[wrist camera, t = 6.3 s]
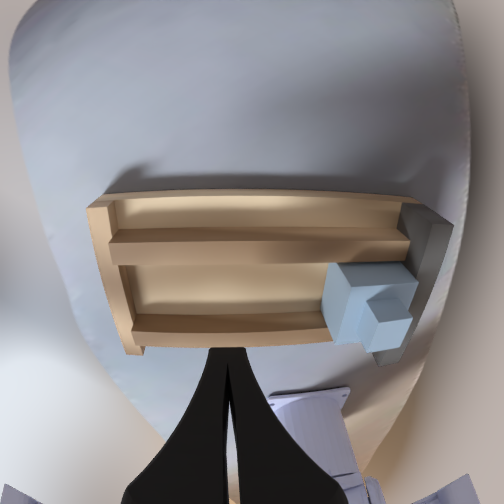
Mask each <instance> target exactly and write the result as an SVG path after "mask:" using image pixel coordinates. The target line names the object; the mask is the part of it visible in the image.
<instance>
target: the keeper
mask: <svg viewBox="0 0 504 504" xmlns="http://www.w3.org/2000/svg"><path fill="white" fill-rule="evenodd" d="M418 283H419V282H418V281H417V280H416V279H415V277H414V276H413V275H412V274H411V273H410V272H409V271H408V270H407V269H406V267H405V266H404V265H403V264H402V263H401V262H400V261H376V262H339V263H329V264H328V270H327V275H326V280H325V285H324V290H323V295H322V300H321V305H320V310H321V312H322V314H323V317H324V319H325V322H326V324H327V327H328V329H329V332H330V334H331V337H332V339H333V342H334V344H335V345H341V344H349V343H357V342H362V345H363V347H364V349H365V351H366V353H370V352H376V351H382V350H388V349H393V348H398V347H400V345H401V343H402V341H403V339H404V337H405V335H406V333H407V331H408V328H409V326H410V324H411V322H412V320H413V317H412V315H411V314H410V313H409V311H408V309H409V307H410V304H411V302H412V299H413V296H414V294H415V291H416V288H417V286H418Z"/></svg>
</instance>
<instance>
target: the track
mask: <svg viewBox="0 0 504 504" xmlns="http://www.w3.org/2000/svg"><path fill="white" fill-rule="evenodd" d="M86 212H87V218H88V223H89V228H90V233H91V238H92V242H93V247H94V251H95V255H96V259H97V264H98V267H99V271H100V275H101V279H102V282H103V286H104V290H105V293H106V296H107V300H108V303H109V306H110V309H111V312H112V316H113V319H114V322H115V325H116V327H117V330H118V333H119V336H120V339H121V342H122V344H123V347H124V350H125V352H126V354H128V355H142V356H143V354H144V350H145V346H154V347H184V348H211V347H262V346H281V345H295V344H308V343H319V342H329V341H333V339H332V337H331V334H330V332H329V329H328V327H327V324H326V322H325V319H324V317H323V314H322V312H321V310H320V305H321V300H322V295H323V290H324V285H325V280H326V275H327V270H328V264H329V263H339V262H376V261H400V262H401V263H402V264H403V265H404V266H405V267H406V269H407V270H408V271H409V272H410V273H411V274H412V275H413V276H414V277H415V279H416V280H417V281H418V282H419V283H418V286H417V288H416V291H415V294H414V296H413V299H412V302H411V304H410V307H409V309H408V311H409V313H410V314H411V315H412V317H413V320H412V322H411V324H410V326H409V328H408V331H407V333H406V335H405V337H404V339H403V341H402V343H401V345H400V347H398V348H393V349H388V350H382V351H376V352H372V354H373V356H374V358H375V360H376V362H377V364H378V366H379V367H380V366H385V365H390V364H394V363H398V362H399V360H400V358H401V357H402V355H403V353H404V351H405V349H406V347H407V345H408V343H409V341H410V339H411V337H412V335H413V333H414V331H415V329H416V326H417V324H418V322H419V320H420V318H421V315H422V313H423V311H424V309H425V306H426V304H427V302H428V299H429V297H430V294H431V292H432V289H433V287H434V284H435V281H436V279H437V276H438V273H439V271H440V268H441V265H442V262H443V259H444V256H445V253H446V250H447V247H448V244H449V240H450V237H451V234H452V230H453V227H454V225H453V224H452V223H450V222H449V221H447V220H446V219H444V218H443V217H441V216H440V215H439V214H437V213H436V212H434V211H433V210H431V209H429V208H428V207H426V206H425V205H423V204H422V203H420V202H419V201H417V200H415V199H414V198H412V197H402V196H392V195H380V194H367V193H352V192H336V191H315V190H286V189H194V190H165V191H145V192H128V193H114V194H102V195H101V196H100V197H99V198H98V199H96V200H95V201H94V202H93V203H92V204H90V205H89V206H88V207H87V208H86Z"/></svg>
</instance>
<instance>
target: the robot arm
mask: <svg viewBox="0 0 504 504" xmlns="http://www.w3.org/2000/svg"><path fill="white" fill-rule="evenodd" d="M350 391H351V390H350V388H349V387H343V388H337V389H330V390H323V391H316V392H308V393H299V394H289V395H278V396H270V397H268V398H267V400H266V398H265V396H264V394H263V392H262V390H261V388H260V386H259V384H258V382H257V380H256V378H255V376H254V373H253V371H252V368H251V366H250V363H249V360H248V357H247V353H246V349H245V348H244V347H211V348H210V349H209V353H208V357H207V361H206V365H205V368H204V371H203V373H202V376H201V379H200V381H199V384H198V386H197V388H196V391H195V393H194V395H193V397H192V399H191V401H190V403H189V405H188V407H187V409H186V411H185V413H184V415H183V417H182V418H181V420H180V422H179V423H178V425H177V427H176V428H175V430H174V431H173V433H172V434H171V436H170V437H169V439H168V440H167V442H166V443H165V445H164V446H163V447H162V449H161V450H160V451H159V452H158V454H157V455H156V456H155V458H153V460H152V461H151V462H150V463H149V464H148V466H147V467H146V468H145V469H144V470H143V471H142V472H141V473H140V474H139V475H138V476H137V477H136V478H135V479H134V480H133V481H132V482H131V483H130V484H129V485H128V486H127V488H126V490H125V492H124V495H123V498H122V501H121V504H229V494H228V477H227V457H226V445H227V429H228V413H229V401H230V408H231V415H232V422H233V429H234V435H235V442H236V449H237V461H238V477H239V492H240V504H386V503H385V499H384V496H383V493H382V490H381V487H380V485H379V482H378V480H377V479H375V478H372V477H371V476H368V477H365V478H364V479H365V483H366V486H367V487H366V489H367V493H368V496H369V497H367V493H366V490H365V486H364V483H363V479H362V476H361V473H360V472H359V469H358V466H357V462H356V459H355V455H354V452H353V449H352V446H351V442H350V439H349V436H348V433H347V429H346V426H345V423H344V420H343V417H342V413H341V409H342V407H343V405H344V403H345V401H346V399H347V397H348V396H349V394H350ZM0 504H42V503H40V502H38V501H36V500H35V499H33V498H32V497H29V496H28V495H26V494H24V493H22V492H20V491H18V490H16V489H15V488H13V487H11V486H9V485H7V484H5V485H4V489H3V493H2V497H1V503H0ZM412 504H480V502H479V499H478V497H477V494H476V491H475V489H474V487H473V484H472V481H471V479H470V476H469V474H465V475H464V476H462V477H460V478H459V479H457V480H455V481H453V482H452V483H450V484H448V485H446V486H445V487H443V488H441V489H440V490H438V491H437V492H435V493H433V494H431V495H429V496H427V497H425V498H423V499H421V500H419V501H416V502H414V503H412Z"/></svg>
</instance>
